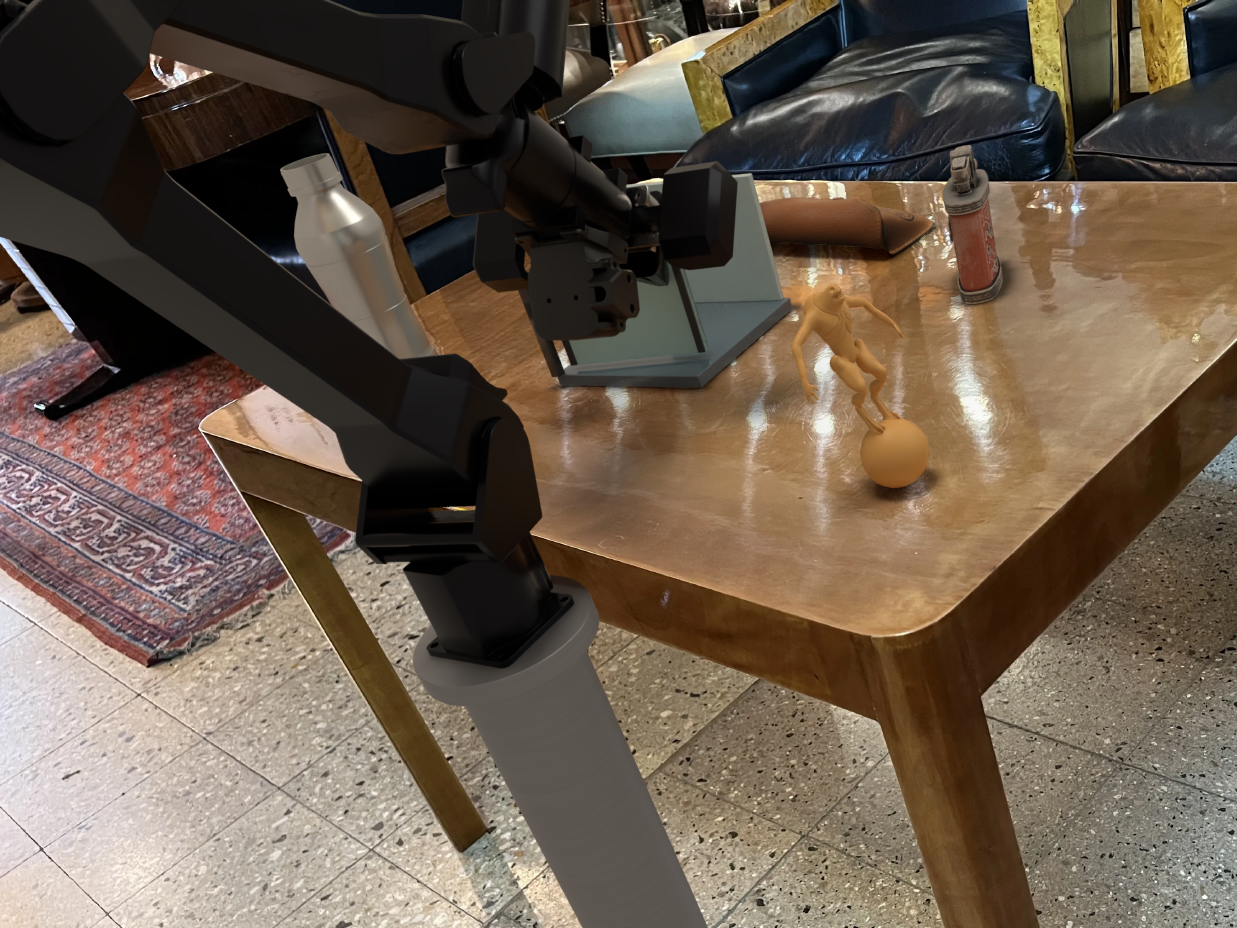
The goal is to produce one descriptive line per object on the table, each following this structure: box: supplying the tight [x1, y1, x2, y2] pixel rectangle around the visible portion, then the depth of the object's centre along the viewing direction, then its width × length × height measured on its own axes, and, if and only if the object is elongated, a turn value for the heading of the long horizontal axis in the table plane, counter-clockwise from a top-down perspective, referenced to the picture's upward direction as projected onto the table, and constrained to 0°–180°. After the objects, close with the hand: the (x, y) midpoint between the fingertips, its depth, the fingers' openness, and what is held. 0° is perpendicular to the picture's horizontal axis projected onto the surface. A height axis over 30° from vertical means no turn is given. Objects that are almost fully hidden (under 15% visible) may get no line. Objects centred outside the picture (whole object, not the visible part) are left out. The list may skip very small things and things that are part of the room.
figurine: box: [790, 283, 930, 489], centre depth 66 cm, size 8×6×12 cm
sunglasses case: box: [759, 196, 936, 255], centre depth 107 cm, size 18×7×7 cm, turn 52°
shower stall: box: [517, 173, 793, 389], centre depth 92 cm, size 14×14×11 cm
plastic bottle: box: [280, 153, 440, 359], centre depth 91 cm, size 6×7×20 cm
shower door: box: [561, 262, 708, 366], centre depth 89 cm, size 1×12×10 cm, turn 74°
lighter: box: [942, 144, 1004, 305], centre depth 89 cm, size 8×3×10 cm, turn 172°
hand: (665, 279), depth 86 cm, fingers closed, pressing on shower door
